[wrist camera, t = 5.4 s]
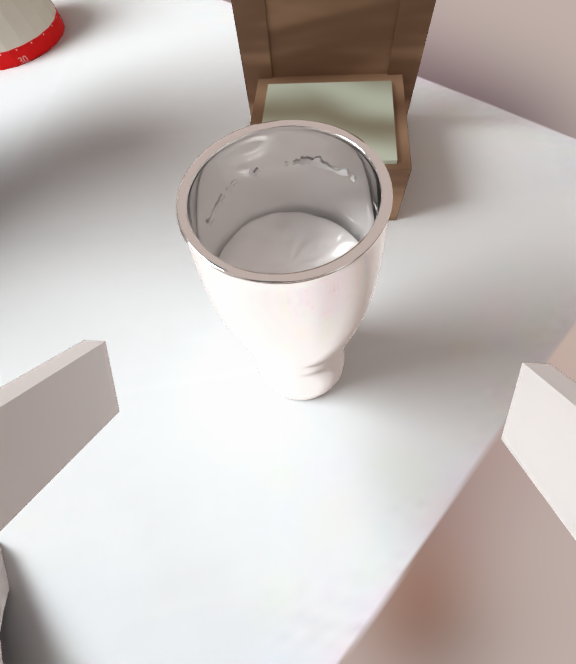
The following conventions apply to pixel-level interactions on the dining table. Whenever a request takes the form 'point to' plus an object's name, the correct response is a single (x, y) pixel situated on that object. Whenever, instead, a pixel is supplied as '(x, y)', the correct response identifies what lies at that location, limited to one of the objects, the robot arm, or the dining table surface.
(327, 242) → the white tumbler cup
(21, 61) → the kitchen timer
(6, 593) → the crown molding
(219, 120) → the dining table surface
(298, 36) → the wooden l-shaped piece
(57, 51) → the dining table surface
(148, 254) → the dining table surface
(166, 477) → the dining table surface
